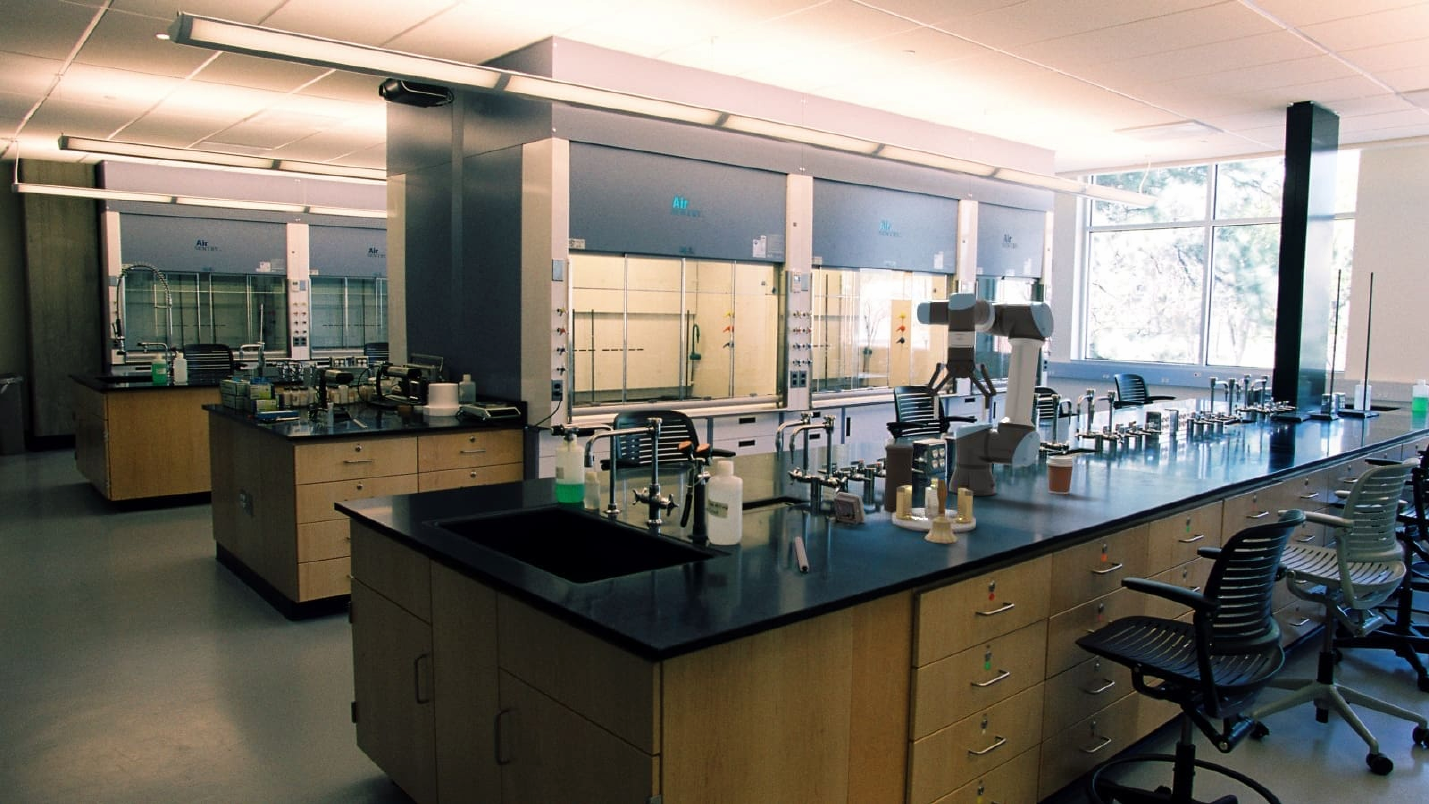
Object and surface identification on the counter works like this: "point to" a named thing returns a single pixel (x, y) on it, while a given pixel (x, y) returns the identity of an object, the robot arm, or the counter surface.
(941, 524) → the hand bell
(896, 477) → the container
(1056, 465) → the coffee cup
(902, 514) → the tan upright block
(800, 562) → the grey tube
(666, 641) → the counter surface
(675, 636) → the counter surface
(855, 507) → the electrical switch
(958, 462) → the robot arm
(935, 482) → the brass knob
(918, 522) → the levelling plate
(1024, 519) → the counter surface
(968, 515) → the tan upright block
